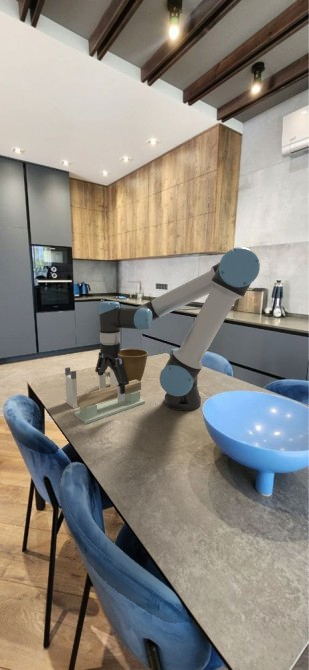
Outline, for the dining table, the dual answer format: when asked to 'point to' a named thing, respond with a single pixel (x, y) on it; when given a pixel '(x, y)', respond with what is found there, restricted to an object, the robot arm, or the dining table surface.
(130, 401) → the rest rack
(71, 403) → the stand
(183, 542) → the dining table surface
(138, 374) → the plant pot
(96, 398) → the rail
